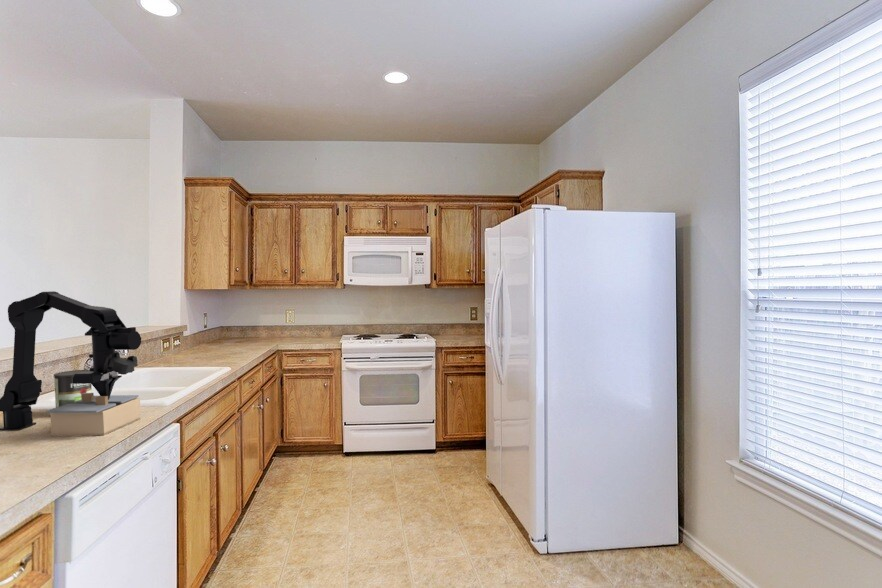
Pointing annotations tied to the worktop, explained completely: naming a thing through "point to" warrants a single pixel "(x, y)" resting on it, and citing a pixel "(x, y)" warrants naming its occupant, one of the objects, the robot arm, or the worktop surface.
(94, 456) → the worktop surface
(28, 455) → the worktop surface
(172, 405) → the worktop surface
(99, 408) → the lid panel
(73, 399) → the coffee can
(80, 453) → the worktop surface
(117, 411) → the carton
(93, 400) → the lid panel
